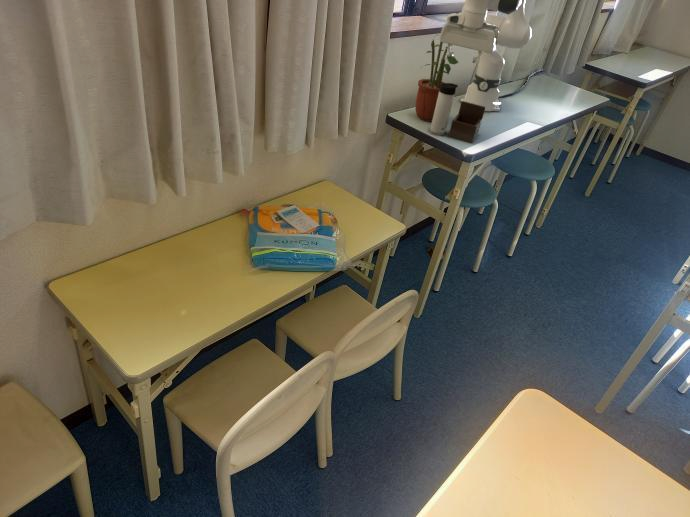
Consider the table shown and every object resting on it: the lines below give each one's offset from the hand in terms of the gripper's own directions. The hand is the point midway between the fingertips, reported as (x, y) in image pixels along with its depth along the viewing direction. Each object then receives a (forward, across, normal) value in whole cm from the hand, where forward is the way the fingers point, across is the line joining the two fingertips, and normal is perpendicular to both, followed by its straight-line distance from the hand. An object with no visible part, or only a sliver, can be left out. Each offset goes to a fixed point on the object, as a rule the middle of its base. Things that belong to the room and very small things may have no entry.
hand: (462, 59), depth 183 cm
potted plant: (+30, +12, -13) cm, 35 cm away
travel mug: (+30, +2, +1) cm, 30 cm away
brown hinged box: (+30, -8, -3) cm, 31 cm away
